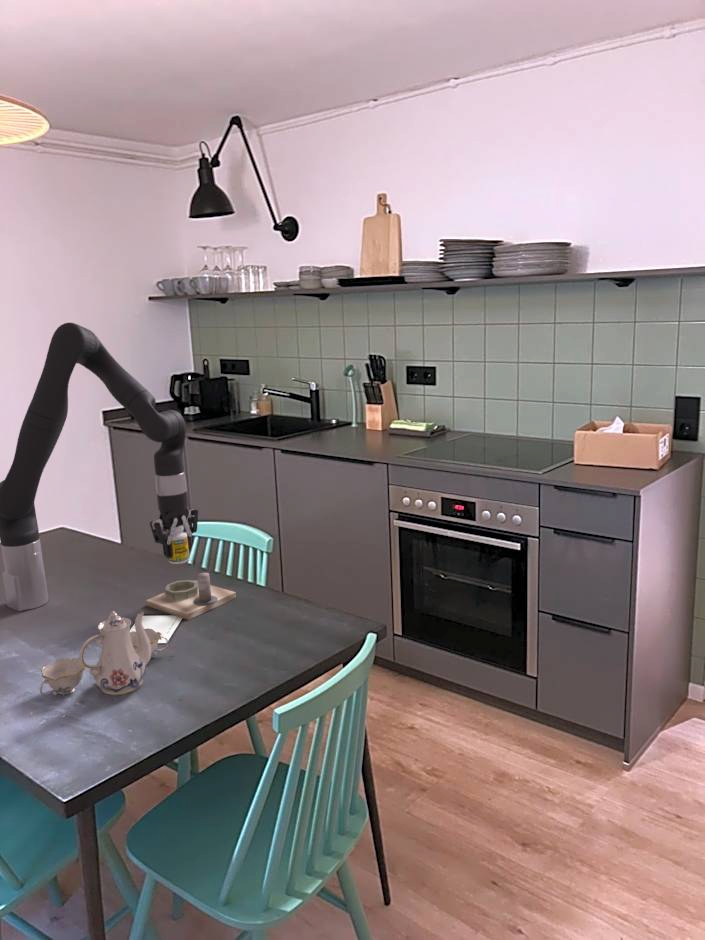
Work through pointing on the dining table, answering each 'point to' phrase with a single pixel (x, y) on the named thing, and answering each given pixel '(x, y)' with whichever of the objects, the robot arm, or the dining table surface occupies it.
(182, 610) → the board
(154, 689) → the dining table surface
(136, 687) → the chinaware
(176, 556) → the supplement bottle
